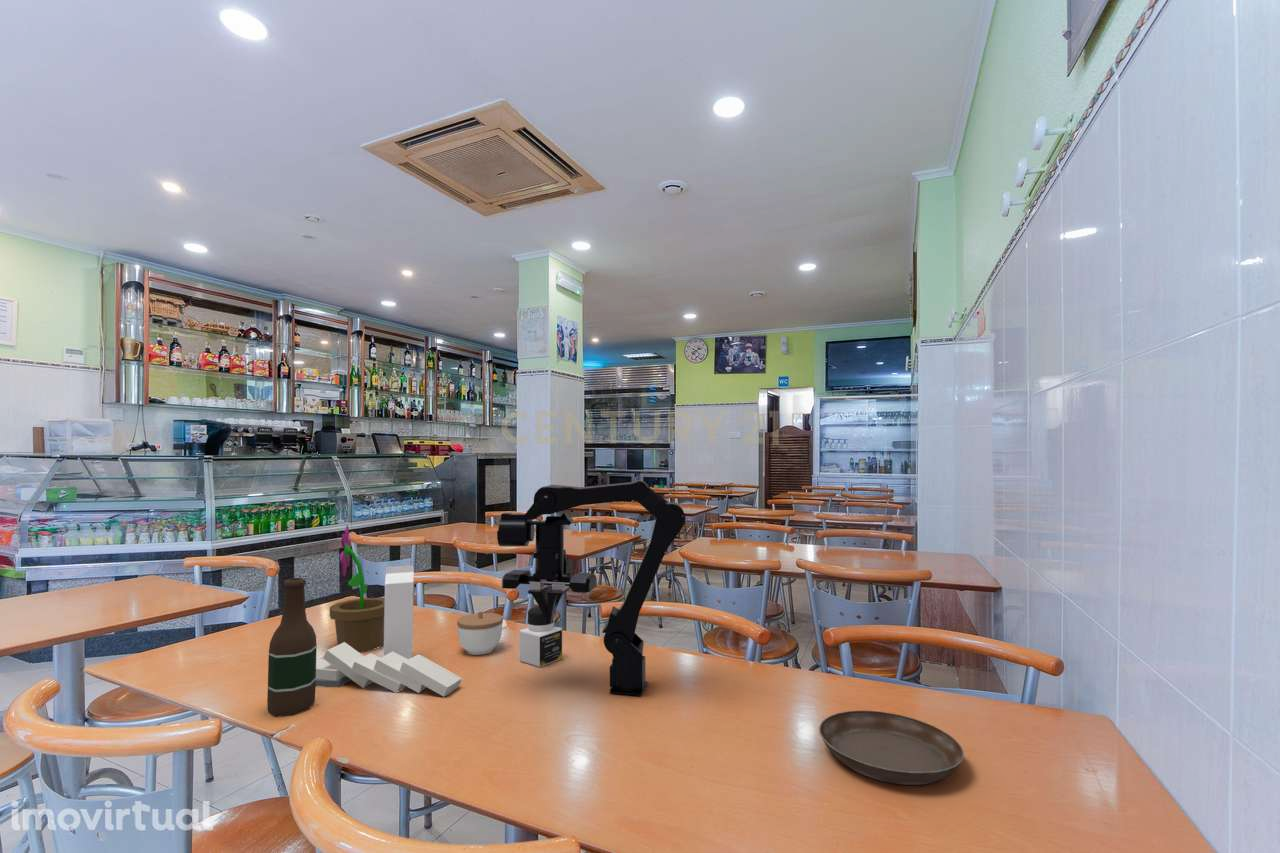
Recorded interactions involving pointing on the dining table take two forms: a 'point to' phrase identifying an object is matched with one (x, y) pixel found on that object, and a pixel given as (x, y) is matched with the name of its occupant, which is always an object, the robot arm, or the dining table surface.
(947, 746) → the plant saucer
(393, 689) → the domino
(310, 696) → the beer bottle
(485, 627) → the lidded jar
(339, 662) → the domino
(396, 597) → the milk
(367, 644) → the flowerpot
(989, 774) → the dining table surface
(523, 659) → the medicine bottle
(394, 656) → the domino
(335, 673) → the domino
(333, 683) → the domino
